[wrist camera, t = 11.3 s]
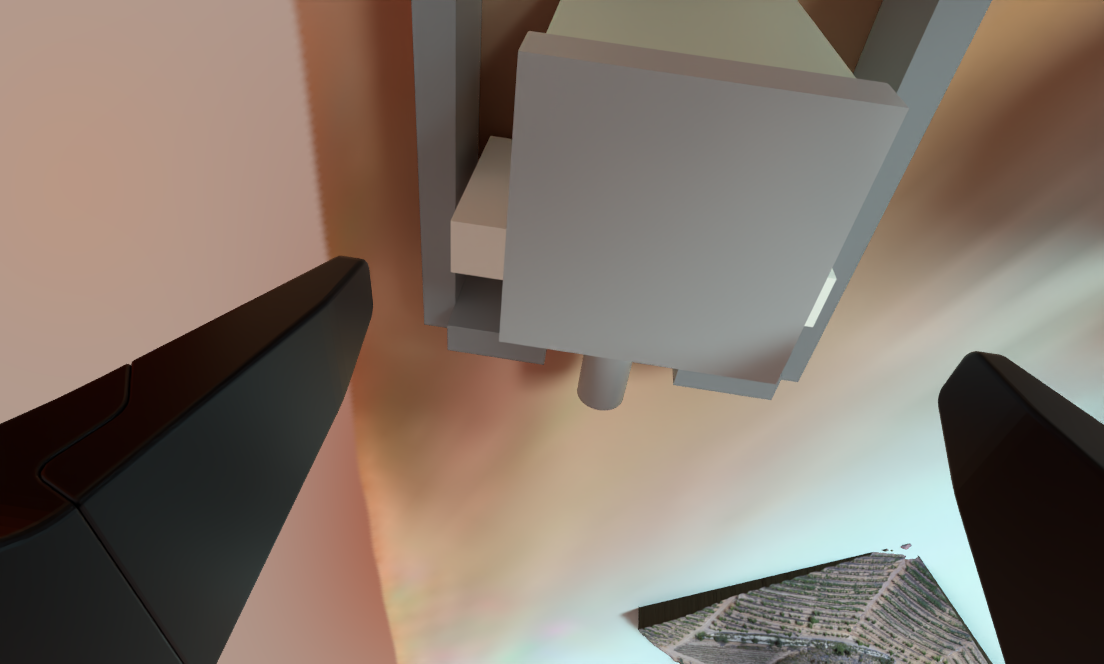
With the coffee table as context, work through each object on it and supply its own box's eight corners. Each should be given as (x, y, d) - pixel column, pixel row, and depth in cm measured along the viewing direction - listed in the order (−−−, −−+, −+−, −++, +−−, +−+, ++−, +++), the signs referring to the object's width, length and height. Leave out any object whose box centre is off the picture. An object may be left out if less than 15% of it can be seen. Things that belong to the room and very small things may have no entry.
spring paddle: (490, 135, 19) (450, 220, 15) (797, 181, 19) (836, 278, 15) (482, 326, 24) (451, 427, 20) (726, 363, 23) (741, 472, 20)
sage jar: (792, -29, 15) (909, 108, 9) (729, 173, 19) (776, 384, 12) (574, -60, 16) (517, 51, 9) (552, 147, 19) (498, 341, 12)
